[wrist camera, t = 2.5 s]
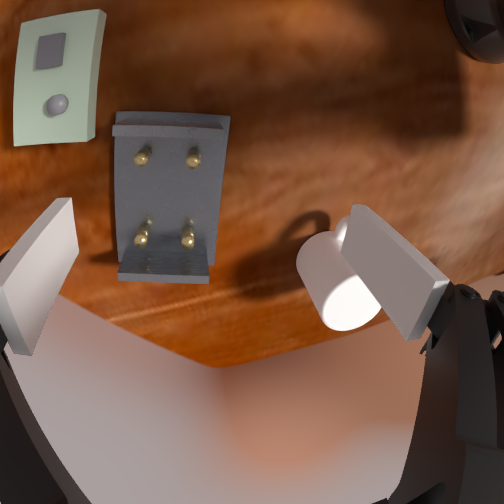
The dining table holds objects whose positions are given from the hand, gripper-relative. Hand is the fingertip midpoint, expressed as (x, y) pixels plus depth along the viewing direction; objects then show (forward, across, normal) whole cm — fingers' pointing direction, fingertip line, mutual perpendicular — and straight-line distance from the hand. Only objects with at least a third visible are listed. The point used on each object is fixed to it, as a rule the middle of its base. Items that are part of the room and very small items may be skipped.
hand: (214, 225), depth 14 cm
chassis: (+21, -3, -6) cm, 22 cm away
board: (+16, -14, +8) cm, 23 cm away
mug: (+21, +17, -12) cm, 30 cm away
